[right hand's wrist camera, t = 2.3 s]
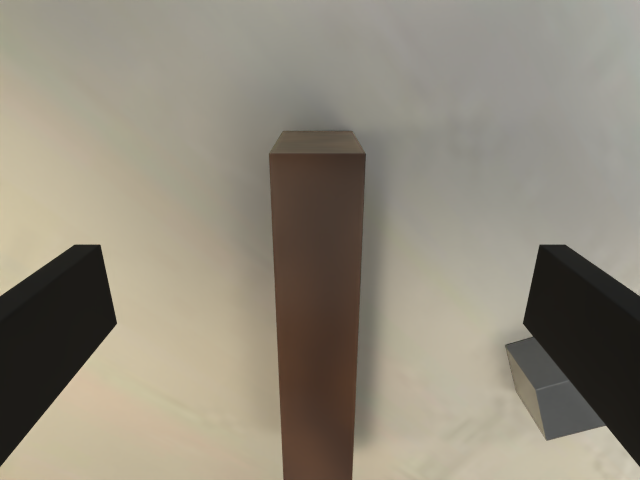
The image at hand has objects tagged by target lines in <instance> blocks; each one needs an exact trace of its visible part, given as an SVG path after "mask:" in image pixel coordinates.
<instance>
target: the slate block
mask: <svg viewBox="0 0 640 480" xmlns="http://www.w3.org/2000/svg"><path fill="white" fill-rule="evenodd" d="M506 351H507V355H508V359H509V363H510V368H511V372H512V376H513V380H514V385H515V389H516V392H517V394H518V396H519V397H520V399H521V400H522V402H523V404H524V405H525V407H526V409H527V410H528V412H529V413H530V415H531V417H532V418H533V420H534V421H535V423H536V425H537V426H538V428H539V430H540V431H541V433H542V434H543V436H544V438H545V439H546V440H551V439H555V438H559V437H563V436H567V435H571V434H575V433H579V432H583V431H587V430H591V429H595V428H598V427H602V426H606V425H605V424H604V422H603V421H602V420H601V419H600V417H599V416H598V415H597V414H596V412H595V411H594V410H593V409H592V408H591V406H590V405H589V404H588V403H587V401H586V400H585V399H584V398H583V397H582V395H581V394H580V393H579V392H578V390H577V389H576V388H575V387H574V386H573V384H572V383H571V382H570V381H569V379H568V378H567V377H566V376H565V374H564V373H563V372H562V371H561V370H560V368H559V367H558V366H557V365H556V363H555V362H554V361H553V360H552V359H551V357H550V356H549V355H548V354H547V352H546V351H545V350H544V349H543V348H542V346H541V345H540V344H539V343H538V341H537V340H536V339H535V338H534V337H533V338H529V339H526V340H522V341H519V342H515V343H512V344H508V345H506Z"/></svg>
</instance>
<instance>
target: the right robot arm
mask: <svg viewBox="0 0 640 480" xmlns="http://www.w3.org/2000/svg"><path fill="white" fill-rule="evenodd" d="M116 324H117V321H116V316H115V312H114V307H113V302H112V297H111V293H110V288H109V283H108V278H107V274H106V269H105V264H104V260H103V255H102V250H101V245H74V246H72V247H71V248H69V249H68V250H66V251H65V252H63V253H62V254H61V255H59V256H58V257H56V258H55V259H53V260H52V261H50V262H49V263H48V264H46V265H45V266H43V267H42V268H40V269H39V270H38V271H36V272H35V273H33V274H32V275H30V276H29V277H27V278H26V279H25V280H23V281H22V282H20V283H19V284H17V285H16V286H14V287H13V288H12V289H10V290H9V291H7V292H6V293H4V294H3V295H1V296H0V466H1V465H2V464H3V463H4V462H5V460H6V459H7V458H8V457H9V455H10V454H11V453H12V452H13V450H14V449H15V448H16V447H17V446H18V444H19V443H20V442H21V441H22V439H23V438H24V437H25V436H26V435H27V433H28V432H29V431H30V430H31V428H32V427H33V426H34V425H35V424H36V422H37V421H38V420H39V419H40V417H41V416H42V415H43V414H44V412H45V411H46V410H47V409H48V408H49V406H50V405H51V404H52V403H53V401H54V400H55V399H56V398H57V397H58V395H59V394H60V393H61V392H62V390H63V389H64V388H65V387H66V386H67V384H68V383H69V382H70V381H71V379H72V378H73V377H74V376H75V374H76V373H77V372H78V371H79V370H80V368H81V367H82V366H83V365H84V363H85V362H86V361H87V360H88V359H89V357H90V356H91V355H92V354H93V352H94V351H95V350H96V349H97V348H98V346H99V345H100V344H101V343H102V341H103V340H104V339H105V338H106V336H107V335H108V334H109V333H110V332H111V330H112V329H113V328H114V327H115V325H116ZM523 324H524V325H525V327H526V328H527V329H528V330H529V332H530V333H531V334H532V335H533V336H534V338H535V339H536V340H537V341H538V343H539V344H540V345H541V346H542V348H543V349H544V350H545V351H546V352H547V354H548V355H549V356H550V357H551V359H552V360H553V361H554V362H555V363H556V365H557V366H558V367H559V368H560V370H561V371H562V372H563V373H564V374H565V376H566V377H567V378H568V379H569V381H570V382H571V383H572V384H573V386H574V387H575V388H576V389H577V390H578V392H579V393H580V394H581V395H582V397H583V398H584V399H585V400H586V401H587V403H588V404H589V405H590V406H591V408H592V409H593V410H594V411H595V412H596V414H597V415H598V416H599V417H600V419H601V420H602V421H603V422H604V424H605V425H606V426H607V427H608V428H609V430H610V431H611V432H612V433H613V435H614V436H615V437H616V438H617V439H618V441H619V442H620V443H621V444H622V446H623V447H624V448H625V449H626V450H627V452H628V453H629V454H630V455H631V457H632V458H633V459H634V460H635V462H636V463H637V464H638V465H639V466H640V296H639V295H637V294H636V293H634V292H633V291H631V290H630V289H628V288H627V287H626V286H624V285H623V284H621V283H620V282H618V281H617V280H615V279H614V278H613V277H611V276H610V275H608V274H607V273H605V272H604V271H602V270H601V269H600V268H598V267H597V266H595V265H594V264H592V263H591V262H590V261H588V260H587V259H585V258H584V257H582V256H581V255H579V254H578V253H577V252H575V251H574V250H572V249H571V248H569V247H568V246H566V245H539V250H538V255H537V259H536V264H535V269H534V274H533V278H532V283H531V288H530V293H529V297H528V302H527V307H526V312H525V316H524V321H523Z"/></svg>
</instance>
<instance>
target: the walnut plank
mask: <svg viewBox="0 0 640 480" xmlns="http://www.w3.org/2000/svg"><path fill="white" fill-rule="evenodd" d="M365 161H366V154H365V152H364V150H363V149H362V147H361V145H360V143H359V142H358V140H357V138H356V137H355V135H354V133H353V131H283V132H282V134H281V135H280V137H279V139H278V140H277V142H276V144H275V145H274V147H273V148H272V150H271V152H270V153H269V165H270V187H271V210H272V232H273V255H274V277H275V299H276V322H277V344H278V367H279V389H280V412H281V434H282V457H283V479H284V480H352V470H353V447H354V423H355V399H356V375H357V351H358V327H359V304H360V280H361V256H362V232H363V208H364V185H365Z"/></svg>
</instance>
